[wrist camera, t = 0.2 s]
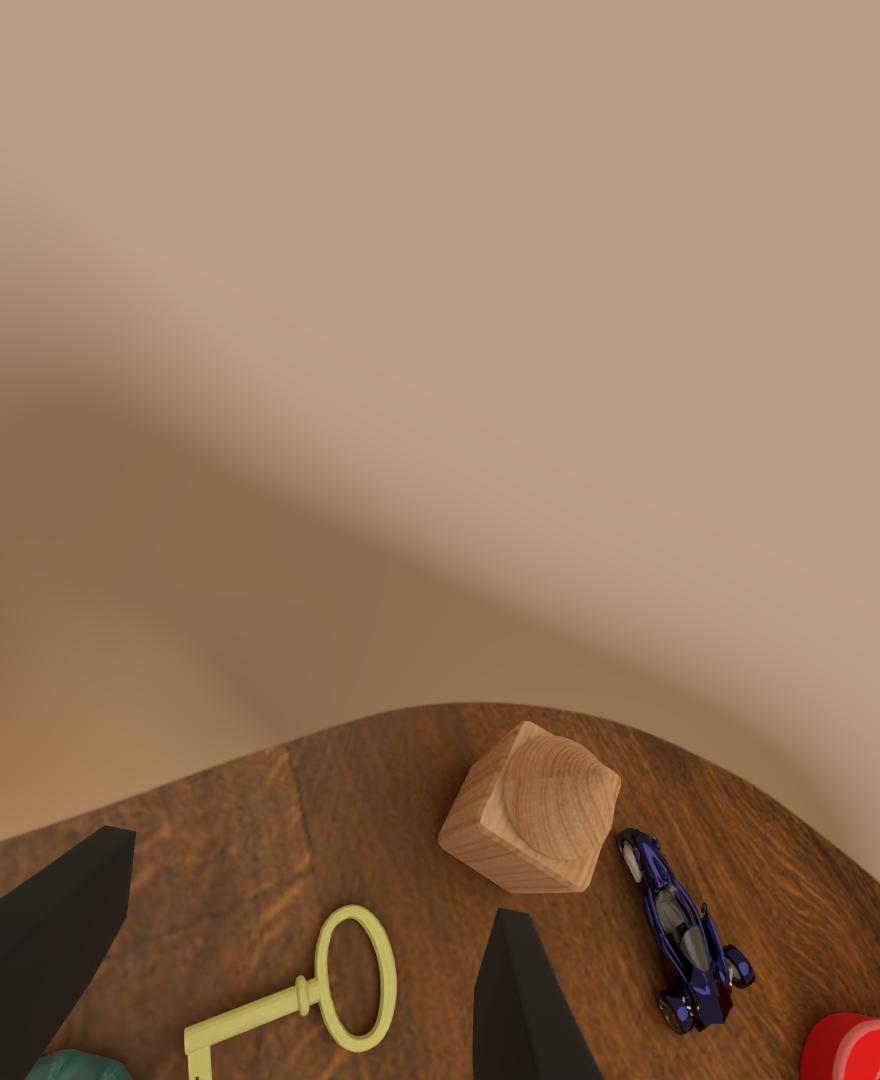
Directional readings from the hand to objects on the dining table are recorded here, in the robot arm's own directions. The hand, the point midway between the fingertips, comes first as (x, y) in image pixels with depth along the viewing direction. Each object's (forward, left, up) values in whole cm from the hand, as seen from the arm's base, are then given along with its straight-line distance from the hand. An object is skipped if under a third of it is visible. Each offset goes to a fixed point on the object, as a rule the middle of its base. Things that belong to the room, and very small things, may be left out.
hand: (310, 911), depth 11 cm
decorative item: (+7, -11, -31) cm, 34 cm away
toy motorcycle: (+4, -24, -31) cm, 39 cm away
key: (-5, -1, -31) cm, 32 cm away
